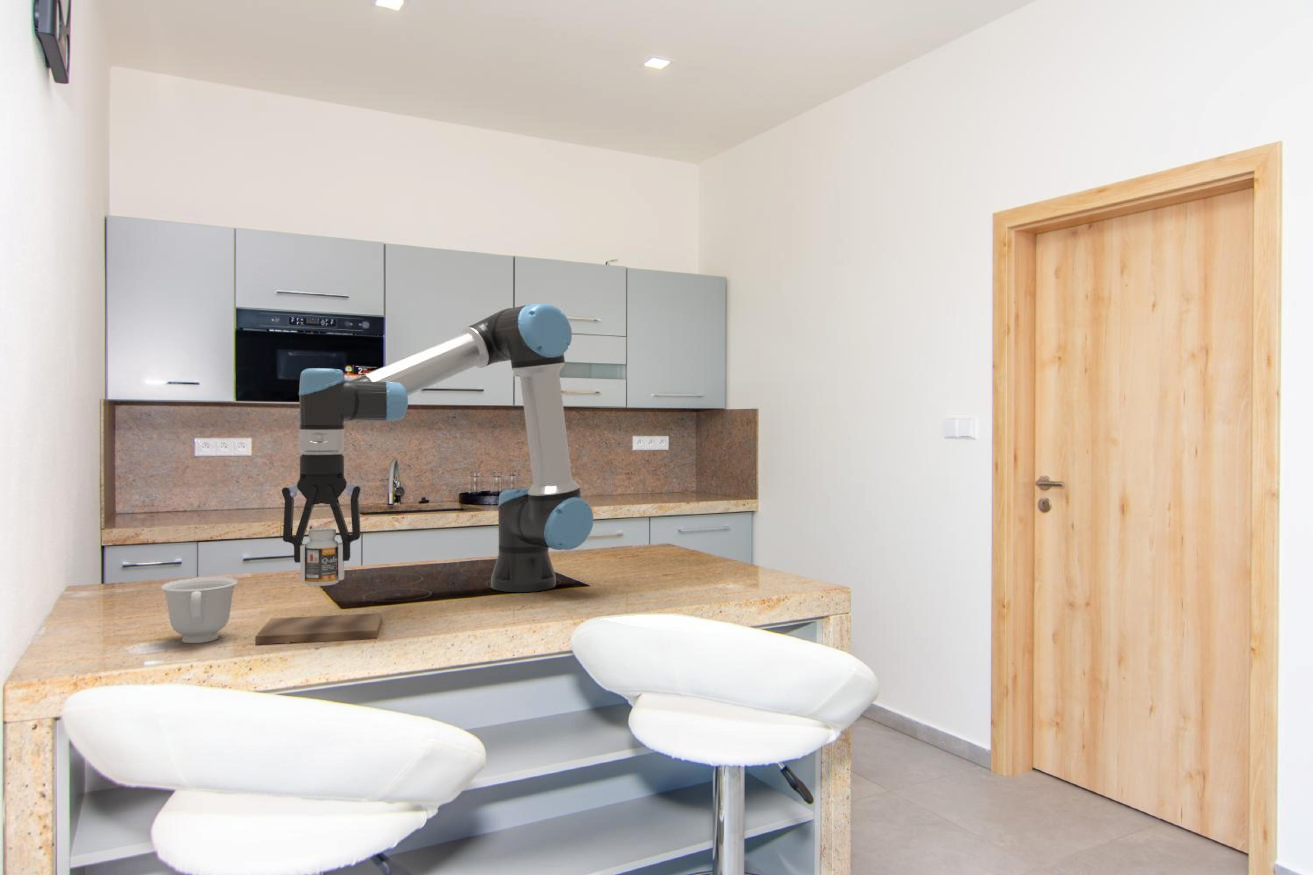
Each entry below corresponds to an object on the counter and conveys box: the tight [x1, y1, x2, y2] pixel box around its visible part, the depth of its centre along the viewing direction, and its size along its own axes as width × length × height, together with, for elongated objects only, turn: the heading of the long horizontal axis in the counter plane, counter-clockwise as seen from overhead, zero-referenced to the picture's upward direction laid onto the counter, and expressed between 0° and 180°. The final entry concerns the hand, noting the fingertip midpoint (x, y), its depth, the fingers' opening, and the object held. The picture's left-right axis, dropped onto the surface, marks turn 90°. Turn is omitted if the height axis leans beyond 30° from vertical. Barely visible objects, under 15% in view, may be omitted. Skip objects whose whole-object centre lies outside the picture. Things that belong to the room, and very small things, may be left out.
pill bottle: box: [305, 528, 340, 587], centre depth 157 cm, size 6×6×10 cm
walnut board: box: [254, 612, 383, 646], centre depth 158 cm, size 20×14×2 cm
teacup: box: [160, 576, 239, 644], centre depth 151 cm, size 12×15×10 cm
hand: (322, 579), depth 158 cm, fingers closed on pill bottle, 6 cm apart
